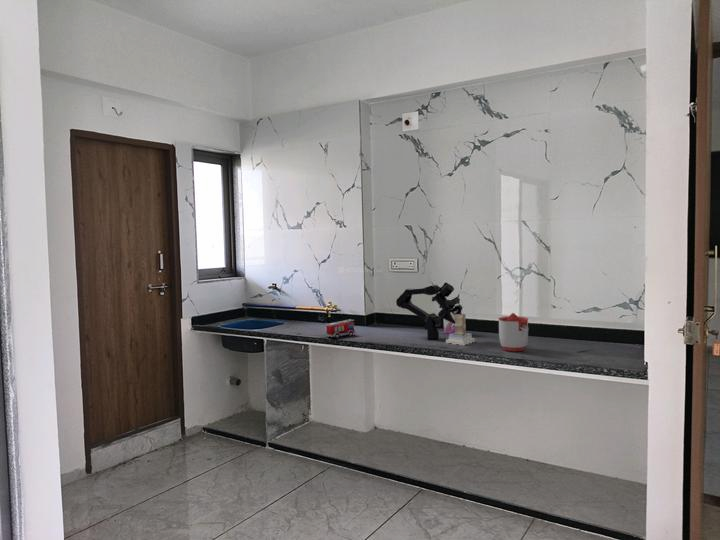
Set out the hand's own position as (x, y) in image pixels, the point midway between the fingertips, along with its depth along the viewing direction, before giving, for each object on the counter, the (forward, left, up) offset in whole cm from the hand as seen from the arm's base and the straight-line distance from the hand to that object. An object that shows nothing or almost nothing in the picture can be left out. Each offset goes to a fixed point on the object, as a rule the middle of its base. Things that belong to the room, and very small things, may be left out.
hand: (459, 322), depth 321 cm
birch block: (0, 0, -8) cm, 8 cm away
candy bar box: (+1, +27, -12) cm, 29 cm away
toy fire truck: (-69, +34, -12) cm, 78 cm away
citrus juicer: (+24, -25, -12) cm, 37 cm away
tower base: (0, 0, -12) cm, 12 cm away
